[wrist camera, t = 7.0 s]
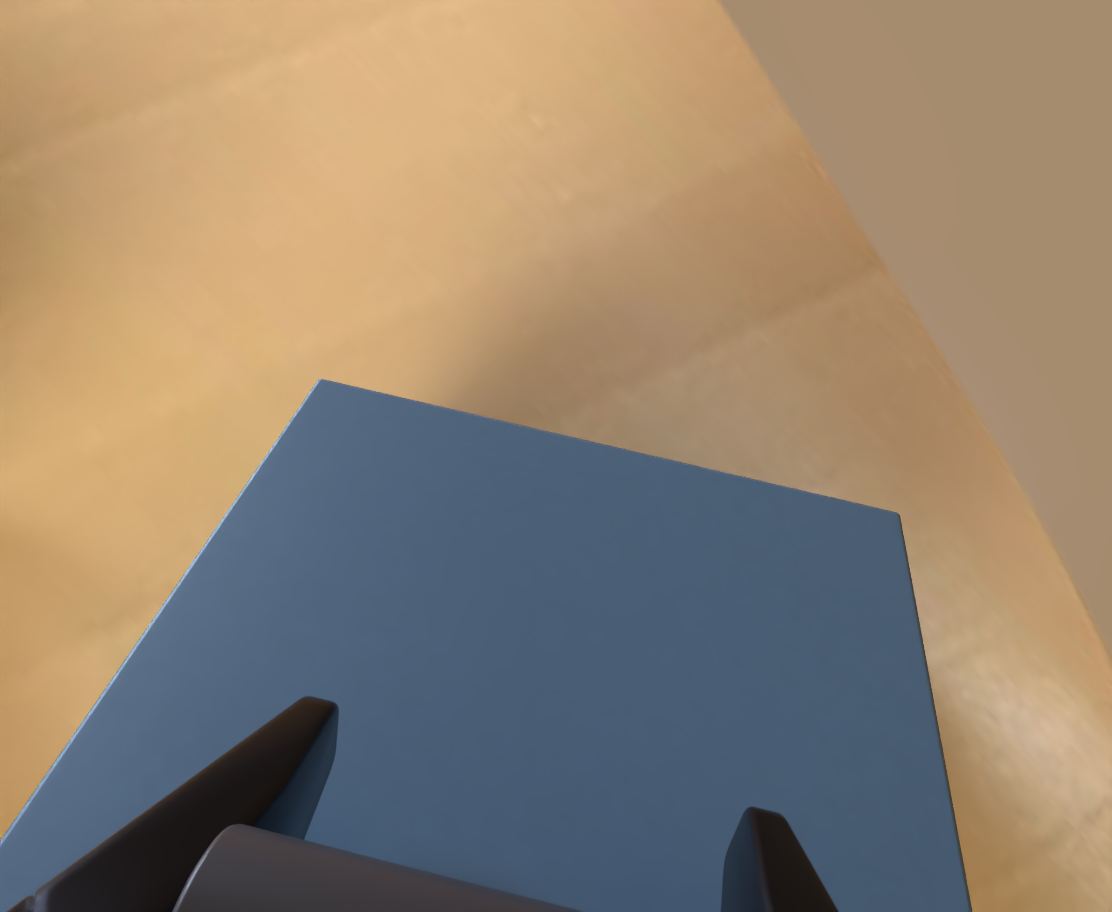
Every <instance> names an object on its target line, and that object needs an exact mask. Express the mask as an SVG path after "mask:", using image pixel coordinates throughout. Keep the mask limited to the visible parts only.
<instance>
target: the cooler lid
mask: <svg viewBox="0 0 1112 912" xmlns="http://www.w3.org/2000/svg"><path fill="white" fill-rule="evenodd" d="M305 696H313V697H317V698H321V699H325V700H329V701H333V702H335V703H336V704H337V705H338V708H339V720H338V733H337V745H336V754H335V758H334V762H333V766H332V769H331V772H330V774H329V777H328V779H327V782H326V784H325V787H324V790H323V792H322V795H321V797H320V800H319V803H318V805H317V808H316V810H315V813H314V815H313V818H312V821H311V823H310V826H309V828H308V831H307V833H306V836H305V839H304V840H302V839H299V838H295V837H291V836H287V835H283V834H279V833H275V832H271V831H267V830H263V829H259V828H256V827H252V826H248V825H244V824H236V825H231V826H229V827H227V828H226V829H224V830H223V831H222V832H221V833H220V834H219V835H218V836H217V837H216V838H215V839H214V841H213V842H212V843H211V844H210V846H209V847H208V848H207V850H206V851H205V853H204V854H203V855H202V857H201V859H200V860H199V862H198V863H197V865H196V866H195V868H194V870H193V872H192V873H191V875H190V877H189V879H188V881H187V882H186V884H185V886H184V888H183V890H182V892H181V894H180V896H179V898H178V900H177V903H176V905H175V907H174V909H173V912H721V898H722V882H723V868H724V861H725V856H726V853H727V850H728V847H729V845H730V842H731V840H732V838H733V835H734V833H735V831H736V829H737V826H738V824H739V822H740V819H741V817H742V815H743V813H744V811H745V810H746V809H747V808H748V807H752V806H754V807H758V808H762V809H766V810H770V811H774V812H777V813H780V814H781V815H783V816H784V817H785V818H786V820H787V821H788V823H789V825H790V827H791V828H792V830H793V832H794V834H795V835H796V837H797V839H798V841H799V842H800V844H801V846H802V848H803V849H804V851H805V853H806V855H807V857H808V858H809V860H810V862H811V864H812V865H813V867H814V869H815V871H816V872H817V874H818V876H819V878H820V879H821V881H822V883H823V885H824V886H825V888H826V890H827V892H828V893H829V895H830V897H831V899H832V900H833V902H834V904H835V906H836V907H837V909H838V911H839V912H972V907H971V902H970V896H969V891H968V885H967V880H966V874H965V869H964V863H963V858H962V852H961V847H960V842H959V836H958V831H957V825H956V820H955V814H954V809H953V803H952V798H951V792H950V787H949V781H948V776H947V770H946V765H945V760H944V754H943V749H942V743H941V738H940V732H939V727H938V721H937V716H936V710H935V705H934V699H933V694H932V688H931V683H930V678H929V672H928V667H927V661H926V656H925V650H924V645H923V639H922V634H921V628H920V623H919V617H918V612H917V606H916V601H915V596H914V590H913V585H912V579H911V574H910V568H909V563H908V557H907V552H906V546H905V541H904V535H903V530H902V524H901V519H900V515H899V514H898V513H896V512H892V511H888V510H883V509H879V508H875V507H870V506H866V505H862V504H857V503H853V502H849V501H845V500H840V499H836V498H832V497H827V496H823V495H819V494H814V493H810V492H806V491H802V490H797V489H793V488H789V487H784V486H780V485H776V484H771V483H767V482H763V481H758V480H754V479H750V478H746V477H741V476H737V475H733V474H728V473H724V472H720V471H715V470H711V469H707V468H703V467H698V466H694V465H690V464H685V463H681V462H677V461H672V460H668V459H664V458H660V457H655V456H651V455H647V454H642V453H638V452H634V451H629V450H625V449H621V448H617V447H612V446H608V445H604V444H599V443H595V442H591V441H586V440H582V439H578V438H573V437H569V436H565V435H561V434H556V433H552V432H548V431H543V430H539V429H535V428H530V427H526V426H522V425H518V424H513V423H509V422H505V421H500V420H496V419H492V418H487V417H483V416H479V415H475V414H470V413H466V412H462V411H457V410H453V409H449V408H444V407H440V406H436V405H432V404H427V403H423V402H419V401H414V400H410V399H406V398H401V397H397V396H393V395H389V394H384V393H380V392H376V391H371V390H367V389H363V388H358V387H354V386H350V385H345V384H341V383H337V382H333V381H328V380H324V379H320V380H318V381H317V383H316V384H315V385H314V387H313V388H312V390H311V391H310V393H309V394H308V396H307V397H306V399H305V400H304V401H303V403H302V404H301V406H300V407H299V409H298V410H297V412H296V413H295V414H294V416H293V417H292V419H291V420H290V422H289V423H288V425H287V426H286V428H285V429H284V430H283V432H282V433H281V435H280V436H279V438H278V439H277V441H276V442H275V443H274V445H273V446H272V448H271V449H270V451H269V452H268V454H267V455H266V456H265V458H264V459H263V461H262V462H261V464H260V465H259V467H258V468H257V470H256V471H255V472H254V474H253V475H252V477H251V478H250V480H249V481H248V483H247V484H246V485H245V487H244V488H243V490H242V491H241V493H240V494H239V496H238V497H237V499H236V500H235V501H234V503H233V504H232V506H231V507H230V509H229V510H228V512H227V513H226V514H225V516H224V517H223V519H222V520H221V522H220V523H219V525H218V526H217V528H216V529H215V530H214V532H213V533H212V535H211V536H210V538H209V539H208V541H207V542H206V543H205V545H204V546H203V548H202V549H201V551H200V552H199V554H198V555H197V556H196V558H195V559H194V561H193V562H192V564H191V565H190V567H189V568H188V570H187V571H186V572H185V574H184V575H183V577H182V578H181V580H180V581H179V583H178V584H177V585H176V587H175V588H174V590H173V591H172V593H171V594H170V596H169V597H168V599H167V600H166V601H165V603H164V604H163V606H162V607H161V609H160V610H159V612H158V613H157V614H156V616H155V617H154V619H153V620H152V622H151V623H150V625H149V626H148V628H147V629H146V630H145V632H144V633H143V635H142V636H141V638H140V639H139V641H138V642H137V643H136V645H135V646H134V648H133V649H132V651H131V652H130V654H129V655H128V656H127V658H126V659H125V661H124V662H123V664H122V665H121V667H120V668H119V670H118V671H117V672H116V674H115V675H114V677H113V678H112V680H111V681H110V683H109V684H108V685H107V687H106V688H105V690H104V691H103V693H102V694H101V696H100V697H99V699H98V700H97V701H96V703H95V704H94V706H93V707H92V709H91V710H90V712H89V713H88V714H87V716H86V717H85V719H84V720H83V722H82V723H81V725H80V726H79V728H78V729H77V730H76V732H75V733H74V735H73V736H72V738H71V739H70V741H69V742H68V743H67V745H66V746H65V748H64V749H63V751H62V752H61V754H60V755H59V756H58V758H57V759H56V761H55V762H54V764H53V765H52V767H51V768H50V770H49V771H48V772H47V774H46V775H45V777H44V778H43V780H42V781H41V783H40V784H39V785H38V787H37V788H36V790H35V791H34V793H33V794H32V796H31V797H30V799H29V800H28V801H27V803H26V804H25V806H24V807H23V809H22V810H21V812H20V813H19V814H18V816H17V817H16V819H15V820H14V822H13V823H12V825H11V826H10V828H9V829H8V830H7V832H6V833H5V835H4V836H3V838H2V839H1V841H0V912H7V911H8V910H9V909H11V908H12V907H13V906H15V905H16V904H18V903H19V902H20V901H22V900H23V899H24V898H26V897H27V896H30V895H31V896H34V898H35V893H36V891H37V889H39V888H40V887H41V886H43V885H44V884H46V883H47V882H48V881H50V880H51V879H52V878H54V877H55V876H57V875H58V874H59V873H61V872H62V871H64V870H65V869H66V868H68V867H69V866H70V865H72V864H73V863H75V862H76V861H77V860H79V859H80V858H81V857H83V856H84V855H86V854H87V853H88V852H90V851H91V850H92V849H94V848H95V847H97V846H98V845H99V844H101V843H102V842H103V841H105V840H106V839H108V838H109V837H110V836H112V835H113V834H114V833H116V832H117V831H119V830H120V829H121V828H123V827H124V826H125V825H127V824H128V823H130V822H131V821H132V820H134V819H135V818H136V817H138V816H139V815H141V814H142V813H143V812H145V811H146V810H147V809H149V808H150V807H152V806H153V805H154V804H156V803H157V802H158V801H160V800H161V799H163V798H164V797H165V796H167V795H168V794H169V793H171V792H172V791H174V790H175V789H176V788H178V787H179V786H180V785H182V784H183V783H185V782H186V781H187V780H189V779H190V778H191V777H193V776H194V775H196V774H197V773H198V772H200V771H201V770H203V769H204V768H205V767H207V766H208V765H209V764H211V763H212V762H214V761H215V760H216V759H218V758H219V757H220V756H222V755H223V754H225V753H226V752H227V751H229V750H230V749H231V748H233V747H234V746H236V745H237V744H238V743H240V742H241V741H242V740H244V739H245V738H247V737H248V736H249V735H251V734H252V733H253V732H255V731H256V730H258V729H259V728H260V727H262V726H263V725H264V724H266V723H267V722H269V721H270V720H271V719H273V718H274V717H275V716H277V715H278V714H280V713H281V712H282V711H284V710H285V709H286V708H288V707H289V706H291V705H292V704H293V703H295V702H296V701H297V700H299V699H300V698H302V697H305Z"/></svg>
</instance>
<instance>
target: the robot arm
mask: <svg viewBox="0 0 1112 912" xmlns="http://www.w3.org/2000/svg"><path fill="white" fill-rule="evenodd" d="M338 720H339V708H338V705H337V704H336V703H335V702H333V701H329V700H325V699H321V698H317V697H313V696H305V697H302V698H300V699H299V700H297V701H296V702H295V703H293V704H292V705H291V706H289V707H288V708H286V709H285V710H284V711H282V712H281V713H280V714H278V715H277V716H275V717H274V718H273V719H271V720H270V721H269V722H267V723H266V724H264V725H263V726H262V727H260V728H259V729H258V730H256V731H255V732H253V733H252V734H251V735H249V736H248V737H247V738H245V739H244V740H242V741H241V742H240V743H238V744H237V745H236V746H234V747H233V748H231V749H230V750H229V751H227V752H226V753H225V754H223V755H222V756H220V757H219V758H218V759H216V760H215V761H214V762H212V763H211V764H209V765H208V766H207V767H205V768H204V769H203V770H201V771H200V772H198V773H197V774H196V775H194V776H193V777H191V778H190V779H189V780H187V781H186V782H185V783H183V784H182V785H180V786H179V787H178V788H176V789H175V790H174V791H172V792H171V793H169V794H168V795H167V796H165V797H164V798H163V799H161V800H160V801H158V802H157V803H156V804H154V805H153V806H152V807H150V808H149V809H147V810H146V811H145V812H143V813H142V814H141V815H139V816H138V817H136V818H135V819H134V820H132V821H131V822H130V823H128V824H127V825H125V826H124V827H123V828H121V829H120V830H119V831H117V832H116V833H114V834H113V835H112V836H110V837H109V838H108V839H106V840H105V841H103V842H102V843H101V844H99V845H98V846H97V847H95V848H94V849H92V850H91V851H90V852H88V853H87V854H86V855H84V856H83V857H81V858H80V859H79V860H77V861H76V862H75V863H73V864H72V865H70V866H69V867H68V868H66V869H65V870H64V871H62V872H61V873H59V874H58V875H57V876H55V877H54V878H52V879H51V880H50V881H48V882H47V883H46V884H44V885H43V886H41V887H40V888H39V889H37V891H36V893H35V898H34V896H31V895H30V896H27V897H26V898H24V899H23V900H22V901H20V902H19V903H18V904H16V905H15V906H13V907H12V908H11V909H9V910H8V911H7V912H173V909H174V907H175V905H176V903H177V900H178V898H179V896H180V894H181V892H182V890H183V888H184V886H185V884H186V882H187V881H188V879H189V877H190V875H191V873H192V872H193V870H194V868H195V866H196V865H197V863H198V862H199V860H200V859H201V857H202V855H203V854H204V853H205V851H206V850H207V848H208V847H209V846H210V844H211V843H212V842H213V841H214V839H215V838H216V837H217V836H218V835H219V834H220V833H221V832H222V831H223V830H224V829H226V828H227V827H229V826H231V825H236V824H244V825H248V826H252V827H256V828H259V829H263V830H267V831H271V832H275V833H279V834H283V835H287V836H291V837H295V838H299V839H302V840H304V839H305V836H306V833H307V831H308V828H309V826H310V823H311V821H312V818H313V815H314V813H315V810H316V808H317V805H318V803H319V800H320V797H321V795H322V792H323V790H324V787H325V784H326V782H327V779H328V777H329V774H330V772H331V769H332V766H333V762H334V758H335V754H336V745H337V733H338ZM721 912H839V911H838V909H837V907H836V906H835V904H834V902H833V900H832V899H831V897H830V895H829V893H828V892H827V890H826V888H825V886H824V885H823V883H822V881H821V879H820V878H819V876H818V874H817V872H816V871H815V869H814V867H813V865H812V864H811V862H810V860H809V858H808V857H807V855H806V853H805V851H804V849H803V848H802V846H801V844H800V842H799V841H798V839H797V837H796V835H795V834H794V832H793V830H792V828H791V827H790V825H789V823H788V821H787V820H786V818H785V817H784V816H783V815H781V814H780V813H777V812H774V811H770V810H766V809H762V808H758V807H754V806H752V807H748V808H747V809H746V810H745V811H744V813H743V815H742V817H741V819H740V822H739V824H738V826H737V829H736V831H735V833H734V835H733V838H732V840H731V842H730V845H729V847H728V850H727V853H726V856H725V861H724V868H723V882H722V898H721Z"/></svg>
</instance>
